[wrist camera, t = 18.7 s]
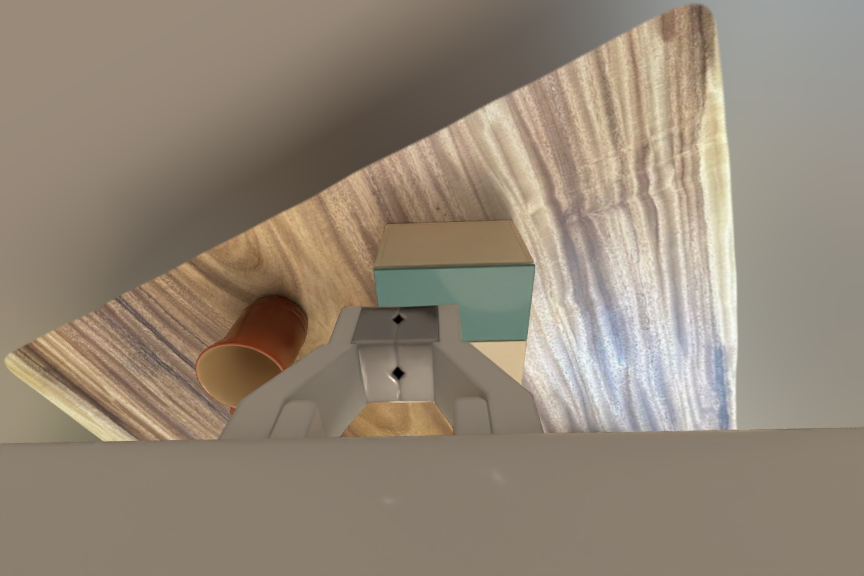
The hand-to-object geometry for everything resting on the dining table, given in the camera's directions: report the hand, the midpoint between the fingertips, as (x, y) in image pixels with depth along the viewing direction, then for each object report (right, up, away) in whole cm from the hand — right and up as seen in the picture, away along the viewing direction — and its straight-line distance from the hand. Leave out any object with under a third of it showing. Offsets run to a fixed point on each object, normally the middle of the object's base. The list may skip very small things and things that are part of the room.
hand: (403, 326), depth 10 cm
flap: (+3, 0, +22) cm, 23 cm away
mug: (-18, -4, +36) cm, 41 cm away
